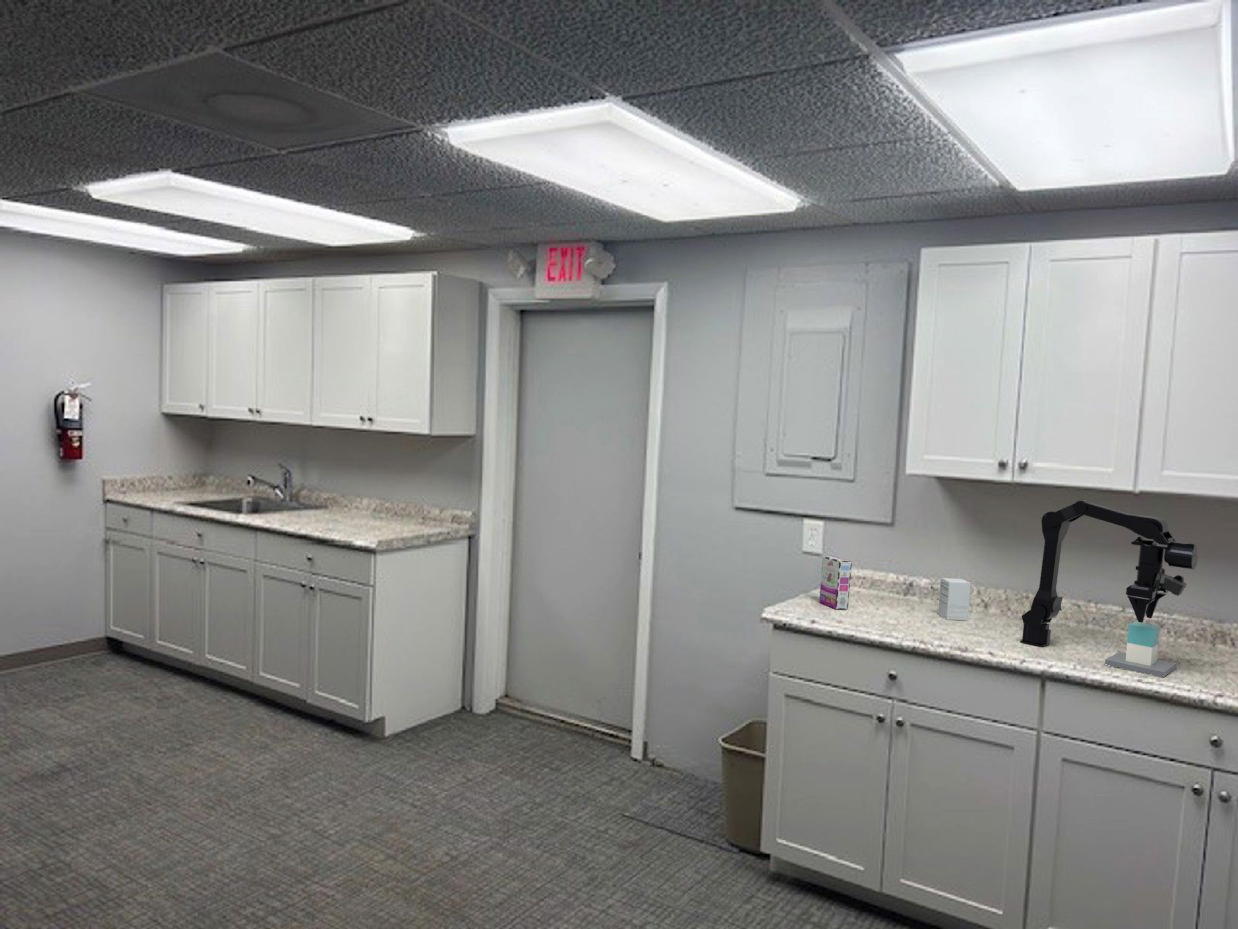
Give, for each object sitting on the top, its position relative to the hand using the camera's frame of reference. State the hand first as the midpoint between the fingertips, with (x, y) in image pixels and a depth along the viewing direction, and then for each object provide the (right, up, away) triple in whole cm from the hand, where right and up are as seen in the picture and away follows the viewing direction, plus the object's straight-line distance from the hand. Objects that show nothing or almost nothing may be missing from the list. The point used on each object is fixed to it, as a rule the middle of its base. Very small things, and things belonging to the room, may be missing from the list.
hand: (1144, 620), depth 240 cm
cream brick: (-1, -11, +1) cm, 12 cm away
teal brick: (0, -7, 0) cm, 6 cm away
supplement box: (-33, -8, +50) cm, 61 cm away
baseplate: (-1, -13, +1) cm, 13 cm away
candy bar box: (-71, -6, +57) cm, 91 cm away
